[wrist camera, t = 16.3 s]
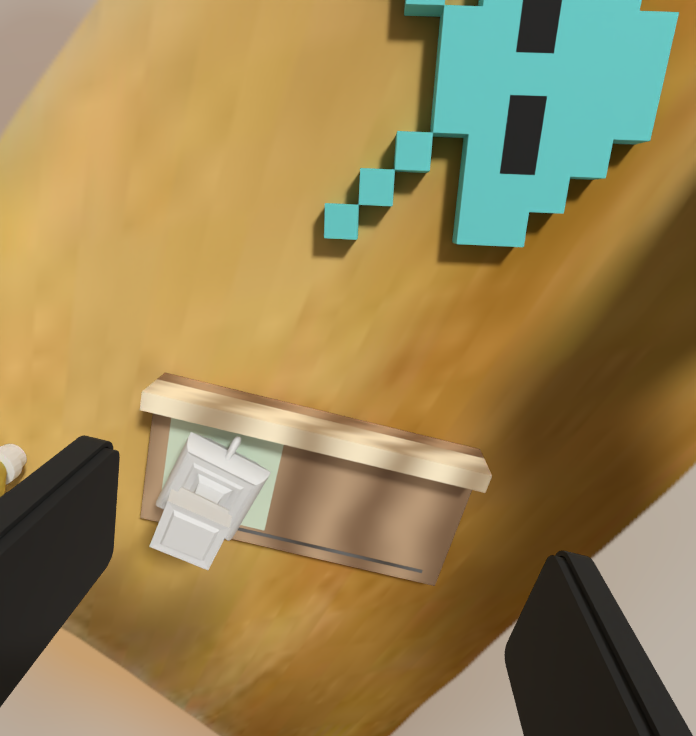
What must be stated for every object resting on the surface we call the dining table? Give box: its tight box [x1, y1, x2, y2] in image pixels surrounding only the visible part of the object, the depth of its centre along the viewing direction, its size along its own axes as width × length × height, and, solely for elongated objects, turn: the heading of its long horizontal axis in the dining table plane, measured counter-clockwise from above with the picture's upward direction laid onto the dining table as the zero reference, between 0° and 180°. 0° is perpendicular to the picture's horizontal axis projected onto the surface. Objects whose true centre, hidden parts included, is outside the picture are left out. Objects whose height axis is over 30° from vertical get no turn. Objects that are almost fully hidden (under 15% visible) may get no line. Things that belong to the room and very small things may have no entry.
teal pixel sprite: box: [324, 0, 679, 247], centre depth 29 cm, size 20×2×20 cm
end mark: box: [162, 418, 284, 530], centre depth 38 cm, size 9×10×1 cm
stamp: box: [149, 432, 271, 570], centre depth 34 cm, size 9×7×8 cm
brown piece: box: [140, 373, 492, 586], centre depth 38 cm, size 26×13×4 cm, turn 76°
